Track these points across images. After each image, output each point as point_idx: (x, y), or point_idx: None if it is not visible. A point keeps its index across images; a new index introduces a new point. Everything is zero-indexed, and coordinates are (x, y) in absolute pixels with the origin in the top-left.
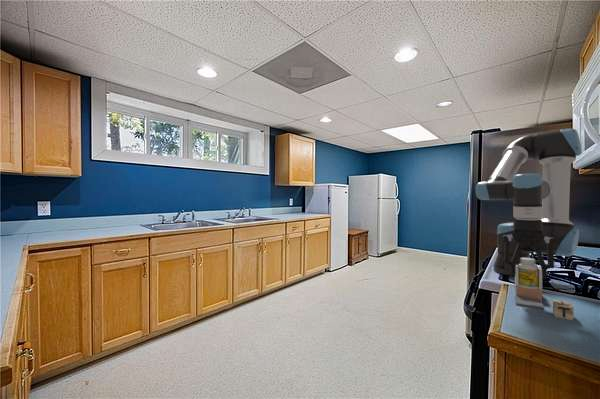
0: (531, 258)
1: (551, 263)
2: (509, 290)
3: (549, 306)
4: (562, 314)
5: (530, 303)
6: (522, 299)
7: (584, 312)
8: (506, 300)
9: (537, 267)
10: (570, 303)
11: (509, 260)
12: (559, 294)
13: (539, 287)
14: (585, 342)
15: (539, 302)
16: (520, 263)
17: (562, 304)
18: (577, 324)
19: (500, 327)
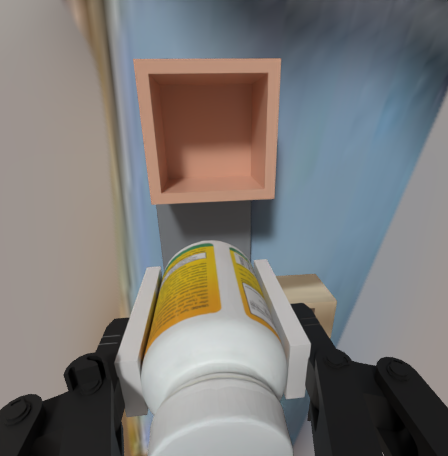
0: (264, 435)
1: (403, 452)
2: (125, 91)
3: (271, 231)
4: None
5: None
6: (185, 230)
7: (365, 227)
8: (130, 252)
9: (282, 394)
10: (333, 311)
11: (50, 452)
12: (351, 18)
13: None
14: (296, 409)
15: (243, 230)
16: (157, 381)
17: None
18: None
19: (141, 439)
